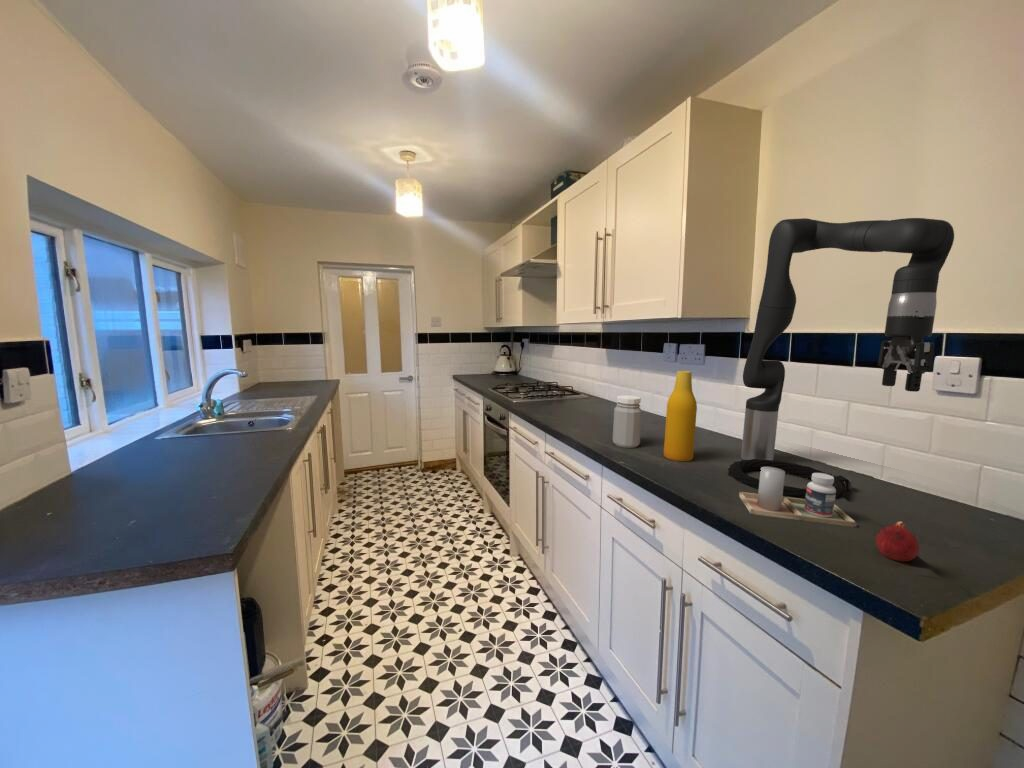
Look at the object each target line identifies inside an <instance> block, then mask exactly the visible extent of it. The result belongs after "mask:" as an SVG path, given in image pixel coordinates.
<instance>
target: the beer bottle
mask: <svg viewBox="0 0 1024 768" xmlns="http://www.w3.org/2000/svg"><path fill="white" fill-rule="evenodd" d="M675 377H676V378H675V381H674V387H673V391H672V392H671V394H670V395H669V397H668V400H667V403H666V417H665V428H664V430H665V432H664V445H663V456H664V457H665V459H668V460H671V461H675V462H683V463H684V462H690V461H692V460H693V458H694V453H695V452H694V449H695V448H694V447H695V436H696V435H695V434H696V424H697V423H696V422H697V411H698V404H697V400H696V397H695V395H694V392H693V383H692V382H693V381H692V379H693V378H692V372H691V371H690V370H686V371H685V370H678V371H676V376H675Z"/></svg>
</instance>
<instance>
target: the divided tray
mask: <svg viewBox="0 0 1024 768" xmlns="http://www.w3.org/2000/svg"><path fill="white" fill-rule="evenodd" d="M738 497H739V498H740V499H741V501H742V503H743V504H744V506H745V507H746V508H747V510H748V512H749V514H750V515H755V516H756V515H757V516H763V517H771V518H773V517H774V518H779V519H780V518H781V519H789V520H797V521H803V522H813V523H822V524H827V525H828V524H829V525H836V526H841V527H842V526H843V527H852V528H857V526H858V525H857V524H858V523H857V522H856V521H855V520H854V519H853V518H852V517H851V516H849V515H848V514H847V513H846V512H845V511H843V509H841V508H840V507H839V506H838V505H836V503H834V511H833V516H832V517H827V518H826V517H818V516H815V515H812V514H810V513H808V512H806V511H805V509H804V506H805V499H800V498H794V497H789V496H782V505H781V510H780V511H769V510H765V509H762V508H760V507H758V506H757V500H758V493H753V492H752V493H751V492H747V491H745V492H744V491H738Z"/></svg>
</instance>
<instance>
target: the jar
mask: <svg viewBox="0 0 1024 768" xmlns="http://www.w3.org/2000/svg"><path fill="white" fill-rule="evenodd" d="M616 402H617V403H616V406H615V407H614V408H613V409H614V410H613V427H612V442H613V443H614V445H615V446H616V447H619V448H623V449H624V448H625V449H634V448H637V447H638V446H639V445H640V444H641V433H642V418H643V417H642V416H643V410H642V409H641V408H640V407H641V405H640V403H641V397H640V396H638V395H631V394H630V395H628V394H627V395H626V394H623V395H622V394H621V395H617V396H616Z"/></svg>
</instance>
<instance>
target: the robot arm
mask: <svg viewBox="0 0 1024 768" xmlns="http://www.w3.org/2000/svg"><path fill="white" fill-rule="evenodd" d="M954 241H955V230H954V227H953V225H952V224H951V223H950V222H949V221H946V220H943V219H935V218H927V217H926V218H925V217H910V218H907V217H906V218H899V219H891V220H888V219H885V220H884V219H882V220H881V219H878V220H877V219H876V220H857V221H850V222H848V221H847V222H828V221H824V220H823V221H822V220H817V219H812V218H789V219H788V218H787V219H782V220H779V221H778V222H777V223H776V224H775V225H774V227H773V229H772V231H771V233H770V237H769V240H768V249H767V250H768V251H767V258H766V259H767V262H766V269H765V276H764V283H763V287H762V292H761V297H760V299H759V304H758V309H757V314H756V318H755V319H756V322H755V326H754V331H753V337H752V340H751V343H750V346H749V347H750V348H749V350H748V353H747V356H746V357H747V358H746V360H745V364H744V366H743V371H742V372H743V373H742V381H743V385H744V386H745V387H746V388H751V389H764V391H763V392H762V393H760V394H759V395H756V396H753V397H749V398H747V399H746V401H745V410H744V423H743V432H742V442H741V443H742V444H741V453H740V458H741V460H751V459H760V460H774V458H775V456H774V455H775V449H776V448H775V447H776V438H777V428H778V418H779V411H780V409H779V408H780V404H781V401H782V395H783V389H784V384H785V383H784V382H785V378H786V370H785V369H786V368H785V364H784V363H783V362H782V361H780V360H777V359H776V360H774V359H769V360H768V359H764V356H765V354H766V352H767V350H768V349H769V347H770V346H771V345H772V344H773V343H774V341H776V339H778V337H780V336H781V335H782V334H783V333H784V332H785V331H786V329H787V328H788V327H789V326H790V324H791V323H792V320H793V317H794V314H795V309H796V306H797V294H796V292H795V288H794V285H793V283H792V279H791V276H790V268H791V260H792V257H793V254H799V253H800V254H801V253H804V252H809V251H816V250H822V249H838V250H842V251H848V252H860V253H862V252H863V253H866V252H867V253H883V252H886V253H899V254H911V257H910V259H909V261H908V264H907V265H905V266H902V267H899V268H898V269H896V271H895V272H894V275H893V279H892V288H891V295H890V300H889V302H888V304H887V312H886V319H885V320H886V321H885V328H884V336H885V337H891V340H882V341H881V342H880V343H881V344H880V348H879V349H880V350H879V355H878V360H877V361H878V362H877V366H879V367H881V369H882V370H883V373H882V379H881V385H882V386H884V387H894V386H896V382H897V381H896V380H897V373H898V368H899V367H900V365H901V364H902V365H904V366H905V367H906V370H907V373H906V380H905V386H904V390H905V391H907V392H920V390H921V383H922V378H923V377H922V376H923V375H924V374H925V373H926V372H929V373H930V372H932V370H933V364H934V355H935V342H929V341H928V342H925V341H924V338H930V337H931V336H932V335H933V331H934V330H933V329H934V322H935V316H936V309H937V291H938V285H939V280H940V279H939V278H940V273H941V271H942V268H943V267H944V265H945V263H946V261H947V258H948V256H949V254H950V252H951V250H952V248H953V245H954ZM924 364H925V365H924Z"/></svg>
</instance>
